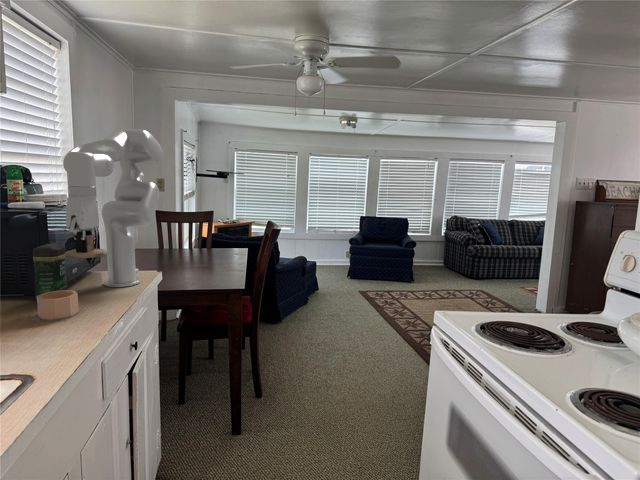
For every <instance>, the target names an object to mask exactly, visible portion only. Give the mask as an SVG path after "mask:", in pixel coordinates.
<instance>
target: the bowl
mask: <svg viewBox="0 0 640 480" xmlns="http://www.w3.org/2000/svg"><path fill="white" fill-rule="evenodd" d="M36 302H37V316H39V318H40V319H42V320H59V319H65V318H69V317H72V316H74V315H76V314H77V313H78V312H79V294H78V291H76V290H72V289H71V290H69V289H68V290H59V291H52V292H46V293H43V294H41V295H38V296H37V301H36ZM77 315H78V314H77ZM77 315H76V316H77ZM74 317H75V316H74ZM72 318H73V317H72Z"/></svg>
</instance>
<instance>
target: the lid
mask: <svg viewBox="0 0 640 480" xmlns="http://www.w3.org/2000/svg"><path fill="white" fill-rule="evenodd" d="M85 240H87V252H86V253H80V252H76V249H70V250H67V251H65V254H66V255H65V258H69V259H91V258H92V259H93V258H99V257H103V256H106V249H103V248H95V245H94V246H93V235H85Z"/></svg>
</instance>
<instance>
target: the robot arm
mask: <svg viewBox="0 0 640 480" xmlns="http://www.w3.org/2000/svg"><path fill="white" fill-rule="evenodd" d="M162 148H163V147H162V146H161V145H160V143H159V142H158V140H157V139H156V138H155V137H154V136H153V135H152V134H151V133H150V132H149V131H147V130H145V129H139V128H137V129H134V128H118V129H116V130H115V131H113V132H112V133H110V134H109V135H107V136H106V137H105V138H103V139H100V140H96V141H92V142H87V143H84V144H81V145H78V146H75V147H74V148H72V149H71V150H70V151H68V152H67V153H66V154H65V156H64V157H63V161H62V163H63V164H62V165H63V169H64V171H65V172H66V180H67V194H68V195H67V196H68V197H67V199H66V207H65V208H66V209H65V227H66V229H67V230H69V231H68V232H69V234H71V235H72V236H73V239H74V241H75V250H76V252H80V253H86V252H87V240H85V235H93V246H94V247H95V236H96V235H95V234H96V231H97V230H98V228H99V218H100V217H99V208H98V201H97V182H96V181H97V180H96V179H97V177H99V178H101V177H103V178H104V177H108V176H110V175H111V174H112V173H113V172H114V170H115V162H118V161H119V165H120V168H121V176H120V177H119V181H118V183H117V184H116V188H115V191H114V199H115V200H111V201H110V200H109V201H107V202H105V203H104V205H103V206H102V208H101V217H102V220H103V224H104V230H105V231H104V232H105V242H106V261H107V263H106V264H107V279H106V280H104V281H103V285H104V286H105V287H110V288H123V287H124V288H126V287H131V286H136V285H138V284H140V283H141V278H140V277H137V275H136V274H138V273H139V272H140V270H139V268H136V247H135V236H134V234H133V233H132V231H131V229H130V227H136V228H137V227H140V228H142V227H144V228H145V227H148V226H150V225H151V223H152V222H153V220H154V216H155V214H156V210H157V207H158V203H159V199H160V189H159V187H158V185H157V184H156V183H155V182H153V181H150V180H149V181H148V180H147V181H146V179H145V174H144V172H143V171H142V169H140V167H139V166H137V165H136V164H140V165H141V164H142V165H143V164H145V165H146V164H148V165H156V164H159V163H161V162H162V160H163V158H164V152H163V149H162Z"/></svg>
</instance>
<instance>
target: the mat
mask: <svg viewBox="0 0 640 480" xmlns="http://www.w3.org/2000/svg"><path fill="white" fill-rule="evenodd" d="M84 311H86V309H79V312H78V313H77V314H76V315H74V316H72V317H69V318H65V319H59V320H42V319H40V318H39V315H37V316H35V317H33V318H31V319H29V321H43V322H44V321H49V322H66V321H68V320H69V319H71V318H73V317H75V316H77V315H79V314H81V313H83V312H84Z"/></svg>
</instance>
